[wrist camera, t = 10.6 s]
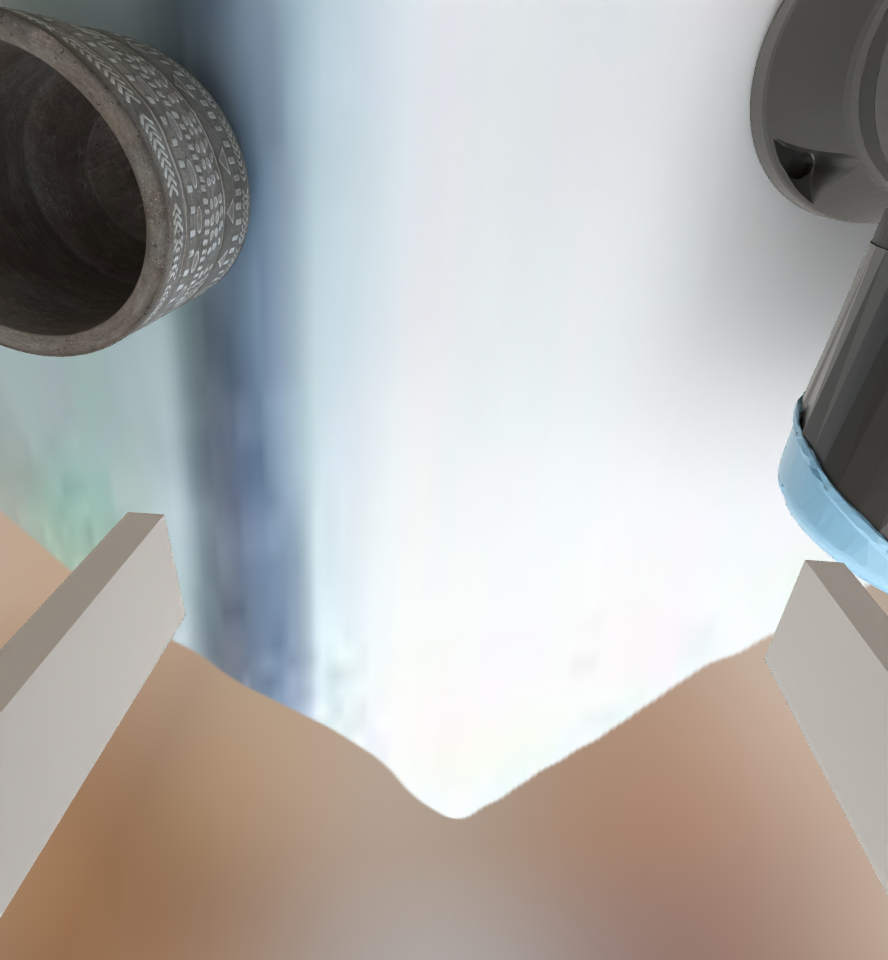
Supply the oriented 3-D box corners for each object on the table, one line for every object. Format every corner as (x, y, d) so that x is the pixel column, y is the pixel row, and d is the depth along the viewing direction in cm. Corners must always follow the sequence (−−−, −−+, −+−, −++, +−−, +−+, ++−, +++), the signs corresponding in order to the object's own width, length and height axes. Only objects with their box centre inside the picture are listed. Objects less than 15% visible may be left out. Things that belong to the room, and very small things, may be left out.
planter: (17, 41, 37) (-239, -5, 24) (254, 40, 36) (123, -7, 23) (85, 287, 44) (-84, 355, 31) (284, 291, 43) (197, 362, 30)
